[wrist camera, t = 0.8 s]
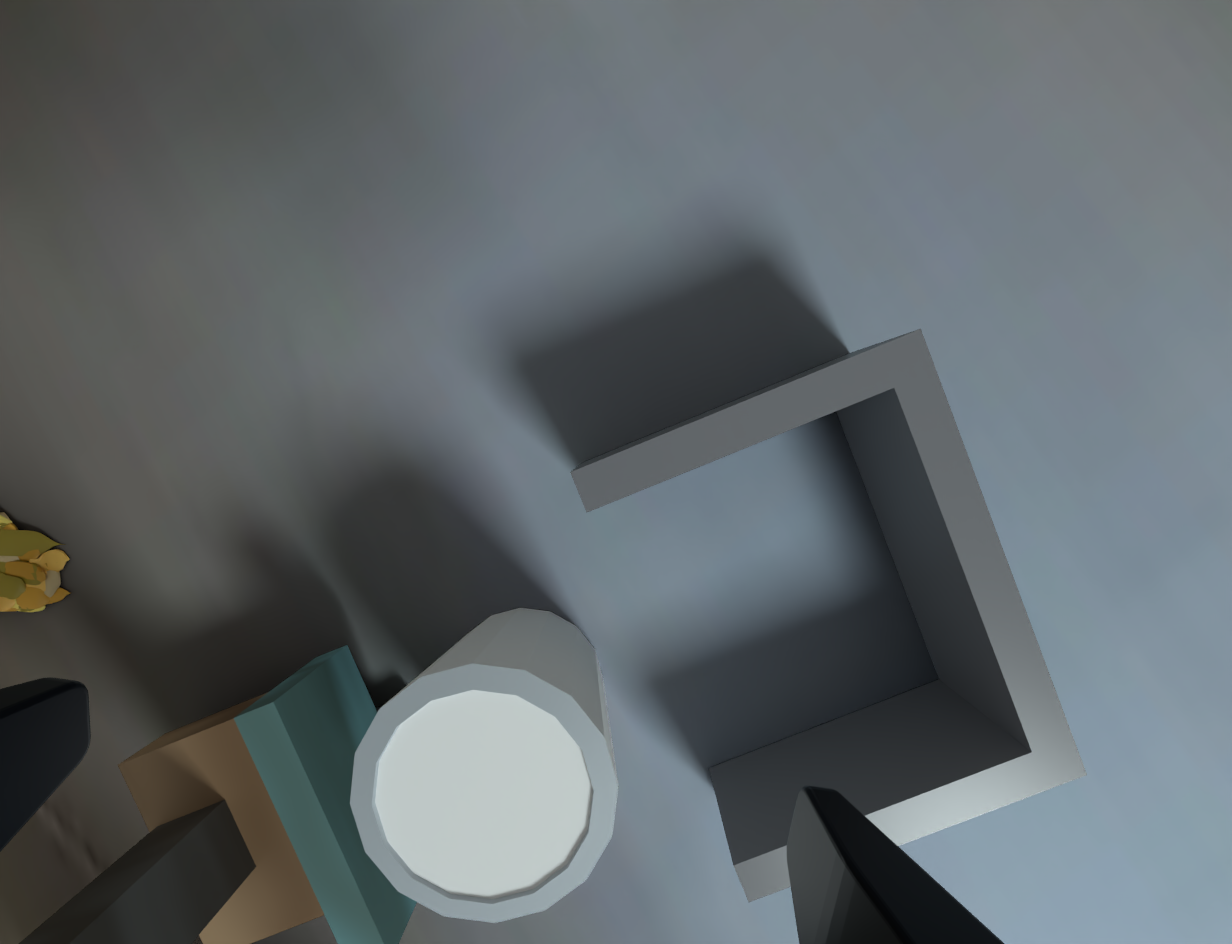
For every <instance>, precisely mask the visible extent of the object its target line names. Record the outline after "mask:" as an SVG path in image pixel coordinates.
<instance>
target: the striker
mask: <svg viewBox="0 0 1232 944" xmlns="http://www.w3.org/2000/svg"><path fill="white" fill-rule="evenodd" d="M376 714H377V711H376V708H375V706H374V704H373V702H372V699H371V697H370V695H369V693H368V690H367V688H366V686H365V684H364V681H363V679H362V677H361V675H360V673H359V670H358V668H357V666H356V664H355V661H354V659H353V657H352V655H351V652H350V650H349V648H348V646H347V645H345V646H343V647H340V648H338V649H335V650H333V651H331V652H328V653H326V654H323V655H321V656H318V657H316V658H314V659H313V660H312V661H310V662H309V663H307V664H306V665H305V666H303V667H302V668H301V669H299V670H298V671H297V672H295V673H294V674H293V675H291V676H290V677H288V678H287V679H286V680H284V681H283V682H282V683H280V684H279V685H278V686H276V687H275V688H274V689H272V690H271V691H269V692H267V693H265V694H262V695H260V696H257V697H255V698H252V699H250V700H247V701H245V702H242V703H240V704H237V705H235V706H232V707H230V708H228V709H225V710H223V711H220V712H218V713H215V714H213V715H210V716H208V717H205V718H203V719H200V720H198V721H195V722H193V723H190V724H188V725H185V726H183V727H180V728H178V729H175V730H173V731H170V732H168V733H165V734H164V735H162V736H161V737H159V738H158V739H156V740H155V741H153V742H152V743H150V744H149V745H147V746H146V747H144V748H143V749H141V750H140V751H138V752H137V753H135V754H134V755H132V756H131V757H129V758H128V759H126V760H125V761H123V762H122V763H120V764H119V765H118V767H119V769H120V771H121V773H122V775H123V777H124V779H125V782H126V784H127V786H128V788H129V790H130V792H131V794H132V796H133V798H134V800H135V802H136V805H137V807H138V809H139V811H140V813H141V815H142V817H143V819H144V821H145V823H146V826H147V828H148V830H149V832H150V833H149V834H147V835H146V836H145V837H144V838H143V839H142V840H140V841H139V842H138V843H137V844H136V845H135V846H133V847H132V848H131V849H130V850H129V851H127V852H126V853H125V854H124V855H123V856H122V857H120V858H119V859H118V860H117V861H116V862H115V863H113V864H112V865H111V866H110V867H109V868H107V869H106V870H105V871H104V872H103V873H102V874H100V875H99V876H98V877H97V878H96V879H94V880H93V881H92V882H91V883H90V884H89V885H87V886H86V887H85V888H84V889H83V890H82V891H80V892H79V893H78V894H77V895H76V896H74V897H73V898H72V899H71V900H70V901H69V902H67V903H66V904H65V905H64V906H63V907H62V908H60V909H59V910H58V911H57V912H56V913H54V914H53V915H52V916H51V917H50V918H49V919H47V920H46V921H45V922H44V923H43V924H41V925H40V926H39V927H38V928H37V929H36V930H34V931H33V932H32V933H31V934H30V935H29V936H27V937H26V938H25V939H24V940H23V941H21V942H20V943H19V944H192V942H193V941H194V940H195V939H196V938H197V937H198V935H199V936H200V939H201V941H202V943H203V944H251V943H253V942H256V941H259V940H261V939H264V938H266V937H269V936H272V935H274V934H277V933H279V932H282V931H284V930H287V929H290V928H292V927H295V926H297V925H300V924H303V923H305V922H308V921H310V920H313V919H315V918H318V917H321V916H323V915H325V917H326V919H327V921H328V923H329V926H330V928H331V930H332V932H333V934H334V936H335V938H336V941H337V943H338V944H399V942H400V939H401V937H402V935H403V932H404V930H405V928H406V926H407V923H408V921H409V919H410V916H411V914H412V912H413V910H414V907H415V905H416V903H417V902H416V901H414V900H413V899H411V898H409V897H407V896H405V895H403V894H402V893H400V892H398V891H397V890H396V889H395V887H394V886H393V885H392V884H391V883H390V881H389V880H388V879H387V878H386V877H385V875H384V874H383V873H382V872H381V871H380V869H379V868H378V867H377V866H376V865H375V863H374V862H373V861H372V860H371V859H370V857H369V856H368V855H367V854H366V853H365V850H364V847H363V844H362V841H361V838H360V834H359V831H358V828H357V825H356V822H355V818H354V815H353V812H352V809H351V806H350V796H351V786H352V776H353V766H354V756H355V752H356V750H357V748H358V746H359V745H360V743H361V741H362V739H363V737H364V736H365V734H366V732H367V730H368V729H369V727H370V725H371V723H372V721H373V720H374V718H375V716H376Z"/></svg>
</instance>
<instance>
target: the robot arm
mask: <svg viewBox="0 0 1232 944" xmlns="http://www.w3.org/2000/svg"><path fill="white" fill-rule="evenodd" d="M90 738H91V735H90V716H89V696H88V690H87V688H86V687H85V685H84V684H82V683H81V682H78V681H73V680H66V679H59V678H41V679H37V680H33V681H29V682H26V683H22V684H18V685H14V686H10V687H6V688H2V689H0V851H1V850H2V849H3V848H4V847H5V846H6V845H7V844H8V843H9V841H10V840H11V839H12V838H13V837H14V836H15V835H16V834H17V832H18V831H19V830H20V829H21V828H22V827H23V826H24V825H25V824H26V822H27V821H28V820H29V819H30V818H31V817H32V816H33V815H34V814H35V812H36V811H37V810H38V809H39V808H40V807H41V806H42V805H43V803H44V802H45V801H46V800H47V799H48V798H49V797H50V796H51V795H52V793H53V792H54V791H55V790H56V789H57V788H58V787H59V786H60V784H61V783H62V782H63V781H64V780H65V779H66V778H67V777H68V776H69V774H70V773H71V772H72V771H73V770H74V769H75V768H76V767H77V765H78V764H79V763H80V762H81V761H82V759H83V758H84V756H85V754H86V752H87V750H88V748H89V744H90ZM787 865H788V872H789V878H790V885H791V891H792V898H793V904H794V911H795V917H796V924H797V931H798V937H799V944H1004V943H1003V942H1002V941H1001V940H1000V939H999V938H998V937H997V936H995V935H994V934H993V933H992V932H991V931H990V930H989V929H988V928H987V927H986V926H984V925H983V924H982V923H981V922H980V921H979V920H978V919H977V918H976V917H975V916H974V915H972V914H971V913H970V912H969V911H968V910H967V909H966V908H965V907H964V906H963V905H962V904H960V903H959V902H958V901H957V900H956V899H955V898H954V897H953V896H952V895H951V894H950V893H948V892H947V891H946V890H945V889H944V888H943V887H942V886H941V885H940V884H939V883H938V882H936V881H935V880H934V879H933V878H932V877H931V876H930V875H929V874H928V873H927V872H926V871H924V870H923V869H922V868H921V867H920V866H919V865H918V864H917V863H916V862H915V861H913V860H912V859H911V858H910V857H909V856H908V855H907V854H906V853H905V852H904V851H903V850H901V849H900V848H899V847H898V846H897V845H896V844H895V843H894V842H893V841H892V840H891V839H889V838H888V837H887V836H886V835H885V834H884V833H883V832H882V831H881V830H880V829H879V828H877V827H876V826H875V825H874V824H873V823H872V822H871V821H870V820H869V819H868V818H867V817H865V816H864V815H863V814H862V813H861V812H860V811H859V810H858V809H857V808H856V807H854V806H853V805H852V804H851V803H850V802H849V801H848V800H847V799H846V798H845V797H844V796H842V795H841V794H840V793H839V792H838V791H836V790H834V789H831V788H824V787H817V786H810V785H805V786H804V787H802V788H801V789H800V791H799V793H798V796H797V800H796V805H795V809H794V813H793V818H792V822H791V827H790V831H789V835H788V840H787Z"/></svg>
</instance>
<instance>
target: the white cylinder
mask: <svg viewBox="0 0 1232 944" xmlns="http://www.w3.org/2000/svg"><path fill="white" fill-rule="evenodd" d="M618 787H619V786H618V779H617V772H616V765H615V758H614V751H613V744H612V737H611V730H610V723H609V716H608V709H607V702H606V695H605V688H604V681H603V676H602V672H601V669H600V665H599V662H598V658H597V655H596V651H595V649H594V648H593V646H592V645H591V644H590V643H589V641H588V640H587V639H586V637H585V636H584V635H583V634H582V632H581V631H580V630H579V629H578V627H577V626H575V625H574V624H572V623H570V622H568V621H566V620H565V619H563V618H561V617H559V616H558V615H556V614H554V613H552V612H550V611H543V610H535V609H528V608H517V609H513V610H509V611H506V612H502V613H498V614H494V615H491V616H490V617H489V618H487V619H486V620H485V621H483V622H482V623H481V624H479V625H478V626H477V627H476V628H474V629H473V630H472V631H470V632H469V633H468V634H467V635H465V636H464V637H463V638H462V639H461V640H460V641H458V642H457V643H456V644H455V645H454V646H453V647H451V648H450V649H449V650H448V651H447V652H445V653H444V654H443V655H442V656H441V657H440V658H438V659H437V660H436V661H435V662H434V663H433V664H431V665H430V666H429V667H428V668H427V669H426V670H424V671H423V672H422V673H421V674H420V675H418V676H417V677H416V678H415V679H414V680H413V681H411V682H410V683H409V684H408V685H407V686H406V687H404V688H403V689H402V690H401V691H400V692H399V693H397V694H396V695H395V696H394V697H393V698H391V699H390V700H389V701H388V702H387V703H386V704H384V705H383V706H382V707H381V708H380V709H379V711H378V712H377V714H376V716H375V718H374V720H373V721H372V723H371V725H370V727H369V729H368V730H367V732H366V734H365V736H364V737H363V739H362V741H361V743H360V745H359V746H358V748H357V750H356V752H355V756H354V766H353V776H352V786H351V796H350V806H351V809H352V812H353V815H354V818H355V822H356V825H357V828H358V831H359V834H360V838H361V841H362V844H363V847H364V850H365V853H366V854H367V855H368V856H369V857H370V859H371V860H372V861H373V862H374V863H375V865H376V866H377V867H378V868H379V869H380V871H381V872H382V873H383V874H384V875H385V877H386V878H387V879H388V880H389V881H390V883H391V884H392V885H393V886H394V887H395V889H396V890H397V891H398V892H400V893H402V894H403V895H405V896H407V897H409V898H411V899H413V900H414V901H416V902H418V903H420V904H422V905H424V906H426V907H427V908H429V909H431V910H433V911H435V912H437V913H438V914H440V915H442V916H445V917H453V918H460V919H468V920H476V921H484V922H492V923H497V922H501V921H505V920H509V919H513V918H517V917H521V916H525V915H529V914H533V913H537V912H541V911H544V910H546V909H548V908H549V907H550V906H552V905H553V904H554V903H556V902H557V901H559V900H560V899H561V898H563V897H564V896H565V895H567V894H568V893H569V892H571V891H572V890H574V889H575V888H576V887H578V886H579V885H580V884H582V883H583V882H584V881H586V880H587V878H588V876H589V875H590V873H591V871H592V870H593V868H594V866H595V865H596V863H597V861H598V860H599V858H600V856H601V855H602V853H603V851H604V849H605V848H606V846H607V844H608V843H609V841H610V839H611V838H612V833H613V826H614V818H615V810H616V803H617V795H618Z"/></svg>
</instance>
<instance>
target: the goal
mask: <svg viewBox="0 0 1232 944" xmlns="http://www.w3.org/2000/svg"><path fill="white" fill-rule="evenodd" d="M835 411H836V412H837V415H838V418H839V420H840V423H841V425H842V428H843V431H844V433H845V436H846V438H847V441H848V444H849V446H850V449H851V451H852V454H853V457H854V459H855V462H856V464H857V467H858V470H859V472H860V475H861V477H862V480H863V483H864V485H865V488H866V490H867V493H868V496H869V498H870V501H871V503H872V506H873V509H874V511H875V514H876V516H877V519H878V522H879V524H880V527H881V529H882V532H883V535H884V537H885V540H886V542H887V545H888V548H889V550H890V553H891V555H892V558H893V560H894V563H895V566H896V568H897V571H898V573H899V576H900V579H901V581H902V584H903V586H904V589H905V592H906V594H907V597H908V599H909V602H910V605H911V607H912V610H913V612H914V615H915V618H916V620H917V623H918V625H919V628H920V631H921V633H922V636H923V638H924V641H925V644H926V646H927V649H928V651H929V654H930V657H931V659H932V662H933V664H934V667H935V670H936V672H937V675H938V677H939V679H938V680H936V681H933V682H931V683H928V684H926V685H923V686H920V687H918V688H915V689H913V690H910V691H907V692H905V693H902V694H900V695H897V696H894V697H892V698H889V699H887V700H884V701H882V702H879V703H876V704H874V705H871V706H869V707H866V708H863V709H861V710H858V711H856V712H853V713H851V714H848V715H845V716H843V717H840V718H838V719H835V720H832V721H830V722H827V723H825V724H822V725H819V726H817V727H814V728H812V729H809V730H807V731H804V732H801V733H799V734H796V735H794V736H791V737H788V738H786V739H783V740H781V741H778V742H775V743H773V744H770V745H768V746H765V747H763V748H760V749H757V750H755V751H752V752H750V753H747V754H744V755H742V756H739V757H737V758H734V759H731V760H729V761H726V762H724V763H721V764H719V765H716V766H713V767H711V768H709V771H710V775H711V779H712V783H713V787H714V791H715V794H716V798H717V802H718V806H719V810H720V814H721V818H722V822H723V826H724V830H725V834H726V838H727V842H728V846H729V849H730V853H731V857H732V861H733V865H734V868H735V870H736V873H737V875H738V877H739V880H740V882H741V885H742V887H743V889H744V892H745V894H746V897H747V899H748V901H749V902H751V901H754V900H757V899H759V898H762V897H765V896H767V895H770V894H773V893H775V892H778V891H780V890H783V889H786V888H788V887H791V885H790V878H789V872H788V865H787V840H788V835H789V831H790V827H791V822H792V818H793V813H794V809H795V805H796V800H797V796H798V793H799V791H800V789H801V788H802V787H804V786H805V785H810V786H817V787H824V788H831V789H834V790H836V791H838V792H839V793H840V794H841V795H842V796H844V797H845V798H846V799H847V800H848V801H849V802H850V803H851V804H852V805H853V806H854V807H856V808H857V809H858V810H859V811H860V812H861V813H862V814H863V815H864V816H865V817H867V818H868V819H869V820H870V821H871V822H872V823H873V824H874V825H875V826H876V827H877V828H879V829H880V830H881V831H882V832H883V833H884V834H885V835H886V836H887V837H888V838H889V839H891V840H892V841H893V842H894V843H895V844H896V845H897V846H900V845H903V844H905V843H908V842H911V841H913V840H916V839H918V838H921V837H924V836H926V835H929V834H932V833H934V832H937V831H940V830H942V829H945V828H948V827H950V826H953V825H956V824H958V823H961V822H964V821H966V820H969V819H972V818H974V817H977V816H980V815H982V814H985V813H987V812H990V811H993V810H995V809H998V808H1001V807H1003V806H1006V805H1009V804H1011V803H1014V802H1017V801H1019V800H1022V799H1025V798H1027V797H1030V796H1033V795H1035V794H1038V793H1041V792H1043V791H1046V790H1049V789H1051V788H1054V787H1056V786H1059V785H1062V784H1064V783H1067V782H1070V781H1072V780H1075V779H1078V778H1080V777H1083V776H1086V775H1087V774H1086V771H1085V768H1084V766H1083V763H1082V760H1081V758H1080V755H1079V752H1078V749H1077V747H1076V744H1075V741H1074V739H1073V736H1072V733H1071V731H1070V728H1069V725H1068V723H1067V720H1066V717H1065V715H1064V712H1063V709H1062V707H1061V704H1060V701H1059V699H1058V696H1057V693H1056V691H1055V688H1054V685H1053V682H1052V680H1051V677H1050V674H1049V672H1048V669H1047V666H1046V664H1045V661H1044V658H1043V656H1042V653H1041V650H1040V648H1039V645H1038V642H1037V640H1036V637H1035V634H1034V632H1033V629H1032V626H1031V623H1030V621H1029V618H1028V615H1027V613H1026V610H1025V607H1024V605H1023V602H1022V599H1021V597H1020V594H1019V591H1018V589H1017V586H1016V583H1015V581H1014V578H1013V575H1012V573H1011V570H1010V567H1009V564H1008V562H1007V559H1006V556H1005V554H1004V551H1003V548H1002V546H1001V543H1000V540H999V538H998V535H997V532H996V530H995V527H994V524H993V522H992V519H991V516H990V514H989V511H988V508H987V506H986V503H985V500H984V497H983V495H982V492H981V489H980V487H979V484H978V481H977V479H976V476H975V473H974V471H973V468H972V465H971V463H970V460H969V457H968V455H967V452H966V449H965V447H964V444H963V441H962V438H961V436H960V433H959V430H958V428H957V425H956V422H955V420H954V417H953V414H952V412H951V409H950V406H949V404H948V401H947V398H946V396H945V393H944V390H943V388H942V385H941V382H940V379H939V377H938V374H937V371H936V369H935V366H934V363H933V361H932V358H931V355H930V353H929V350H928V347H927V345H926V342H925V339H924V337H923V334H922V331H921V329H919V330H916V331H913V332H910V333H907V334H904V335H901V336H898V337H895V338H893V339H890V340H887V341H884V342H881V343H878V344H875V345H872V346H869V347H866V348H863V349H860V350H857V351H855V352H852V353H849V354H847V355H844V356H842V357H839V358H837V359H834V360H832V361H829V362H827V363H825V364H822V365H820V366H817V367H815V368H812V369H810V370H808V371H805V372H803V373H800V374H798V375H795V376H793V377H790V378H788V379H786V380H783V381H781V382H778V383H776V384H773V385H771V386H768V387H766V388H764V389H761V390H759V391H756V392H754V393H751V394H749V395H746V396H744V397H742V398H739V399H737V400H734V401H732V402H729V403H727V404H725V405H722V406H720V407H717V408H715V409H712V410H710V411H707V412H705V413H703V414H700V415H698V416H695V417H693V418H690V419H688V420H685V421H683V422H681V423H678V424H676V425H673V426H671V427H668V428H666V429H663V430H661V431H659V432H656V433H654V434H651V435H649V436H646V437H644V438H641V439H639V440H637V441H634V442H632V443H629V444H627V445H624V446H622V447H620V448H617V449H615V450H612V451H610V452H607V453H605V454H602V455H600V456H598V457H595V458H593V459H590V460H588V461H585V462H583V463H581V464H580V465H579V466H578V467H576V468H575V469H574V470H573V471H571V472H570V473H571V475H572V478H573V480H574V483H575V485H576V487H577V490H578V492H579V495H580V497H581V499H582V502H583V504H584V507H585V509H586V511H587V512H589V511H592V510H594V509H597V508H599V507H602V506H604V505H607V504H609V503H611V502H614V501H616V500H619V499H621V498H624V497H626V496H629V495H631V494H634V493H636V492H639V491H641V490H643V489H646V488H648V487H651V486H653V485H656V484H658V483H661V482H663V481H666V480H668V479H671V478H673V477H675V476H678V475H680V474H683V473H685V472H688V471H690V470H693V469H695V468H698V467H700V466H703V465H705V464H707V463H710V462H712V461H715V460H717V459H720V458H722V457H725V456H727V455H730V454H732V453H735V452H737V451H739V450H742V449H744V448H747V447H749V446H752V445H754V444H757V443H759V442H762V441H764V440H767V439H769V438H771V437H774V436H776V435H779V434H781V433H784V432H786V431H789V430H791V429H794V428H796V427H799V426H801V425H803V424H806V423H808V422H811V421H813V420H816V419H818V418H821V417H823V416H826V415H828V414H831V413H833V412H835Z"/></svg>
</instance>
